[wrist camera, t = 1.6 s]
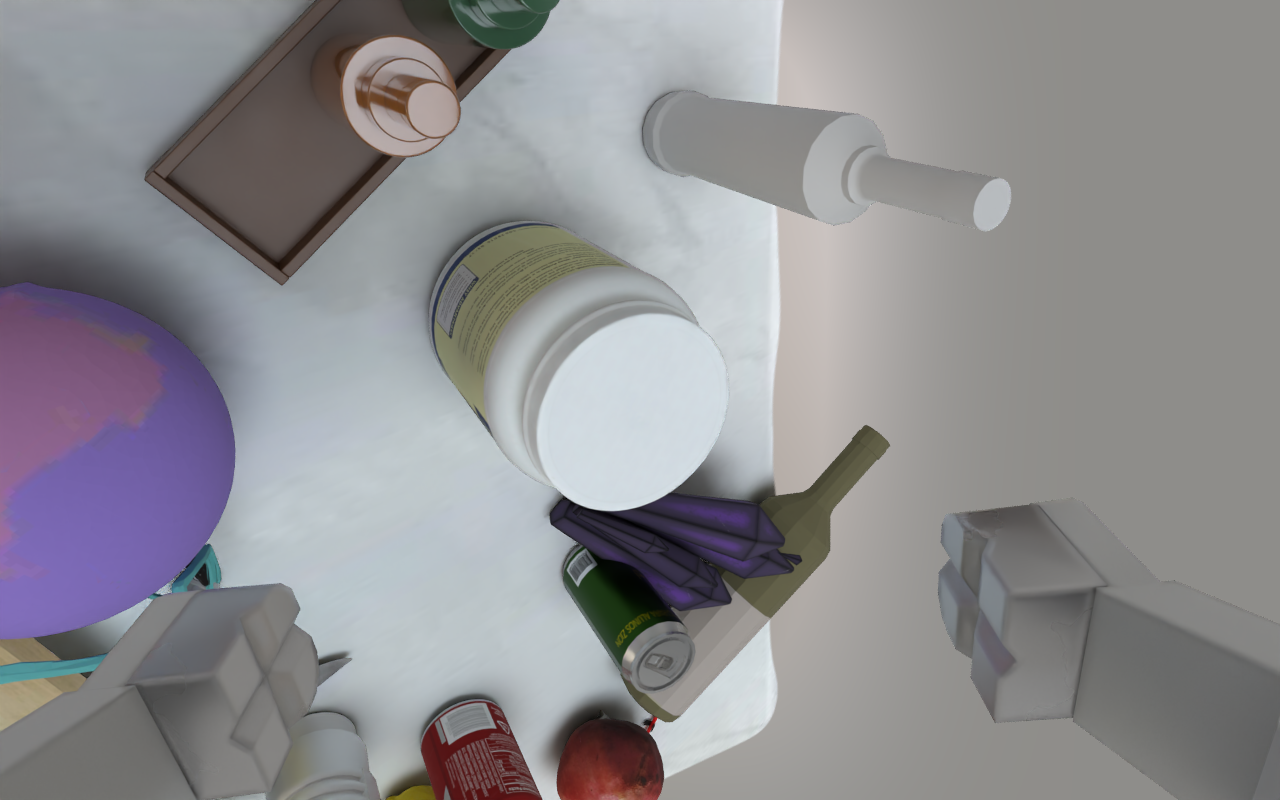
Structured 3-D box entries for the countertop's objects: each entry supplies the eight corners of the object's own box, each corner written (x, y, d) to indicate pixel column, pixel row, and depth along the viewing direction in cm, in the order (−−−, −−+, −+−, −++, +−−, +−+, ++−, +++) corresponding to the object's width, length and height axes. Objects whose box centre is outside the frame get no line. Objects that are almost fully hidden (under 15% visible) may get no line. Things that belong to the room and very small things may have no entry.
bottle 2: (599, 659, 66) (833, 396, 66) (644, 678, 71) (862, 433, 71) (641, 721, 61) (894, 436, 61) (687, 738, 66) (922, 474, 66)
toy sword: (283, 762, 55) (-58, 462, 36) (311, 779, 53) (-32, 474, 35) (133, 948, 47) (-388, 688, 29) (160, 974, 46) (-374, 717, 27)
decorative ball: (96, 192, 37) (51, 273, 25) (285, 422, 46) (318, 564, 34) (-234, 355, 34) (-465, 536, 22) (35, 569, 43) (-26, 784, 31)
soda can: (425, 699, 59) (470, 830, 50) (509, 687, 63) (565, 807, 53) (412, 768, 61) (452, 906, 52) (493, 752, 65) (545, 879, 55)
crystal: (524, 575, 56) (753, 661, 62) (596, 483, 49) (846, 589, 55) (540, 502, 62) (749, 587, 67) (606, 410, 55) (833, 513, 60)
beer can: (546, 583, 60) (613, 689, 51) (583, 526, 60) (657, 623, 50) (598, 599, 63) (670, 702, 54) (633, 545, 63) (712, 639, 53)
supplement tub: (394, 371, 48) (474, 509, 34) (465, 183, 45) (581, 253, 32) (562, 414, 55) (683, 543, 41) (631, 254, 52) (784, 335, 39)
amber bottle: (288, 78, 39) (334, 104, 26) (355, 10, 39) (431, 4, 27) (363, 150, 42) (435, 205, 29) (425, 87, 42) (523, 114, 29)
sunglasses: (183, 511, 47) (184, 592, 47) (-173, 552, 37) (-168, 655, 37) (264, 563, 37) (264, 665, 37) (-196, 640, 27) (-189, 780, 27)
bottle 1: (714, 93, 50) (1055, 141, 31) (701, 175, 52) (1014, 270, 32) (644, 84, 48) (966, 128, 28) (634, 170, 50) (927, 269, 30)
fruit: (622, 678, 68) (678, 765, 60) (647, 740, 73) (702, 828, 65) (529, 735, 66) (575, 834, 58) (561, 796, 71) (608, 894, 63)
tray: (278, 276, 43) (282, 286, 41) (145, 173, 38) (143, 179, 36) (544, 2, 43) (557, 1, 42) (445, -132, 39) (456, -138, 37)
